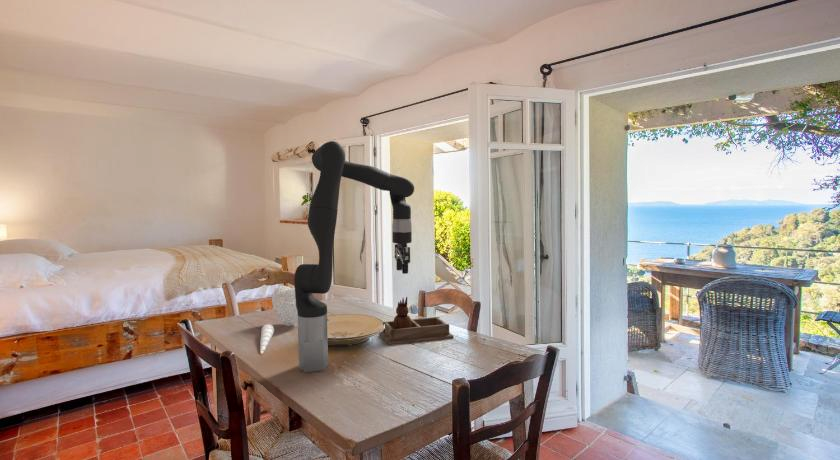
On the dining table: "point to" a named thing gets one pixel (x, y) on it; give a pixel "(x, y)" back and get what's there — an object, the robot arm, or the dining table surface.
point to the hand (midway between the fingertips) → (402, 271)
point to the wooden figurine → (402, 316)
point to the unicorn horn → (265, 336)
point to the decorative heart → (285, 305)
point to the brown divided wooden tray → (417, 331)
